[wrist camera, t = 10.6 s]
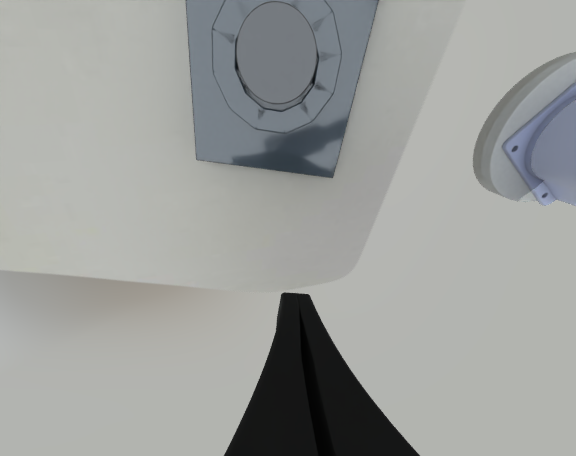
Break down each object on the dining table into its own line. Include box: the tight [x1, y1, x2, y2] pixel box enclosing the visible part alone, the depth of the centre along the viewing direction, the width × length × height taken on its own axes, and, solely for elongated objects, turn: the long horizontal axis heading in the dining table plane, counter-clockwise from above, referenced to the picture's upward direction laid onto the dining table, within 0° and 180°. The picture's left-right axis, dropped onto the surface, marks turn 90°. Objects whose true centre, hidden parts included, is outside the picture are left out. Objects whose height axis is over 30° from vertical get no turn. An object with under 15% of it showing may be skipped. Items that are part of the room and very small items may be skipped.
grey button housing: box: [186, 0, 379, 178], centre depth 13 cm, size 12×10×4 cm
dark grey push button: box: [236, 1, 317, 104], centre depth 10 cm, size 4×4×2 cm
